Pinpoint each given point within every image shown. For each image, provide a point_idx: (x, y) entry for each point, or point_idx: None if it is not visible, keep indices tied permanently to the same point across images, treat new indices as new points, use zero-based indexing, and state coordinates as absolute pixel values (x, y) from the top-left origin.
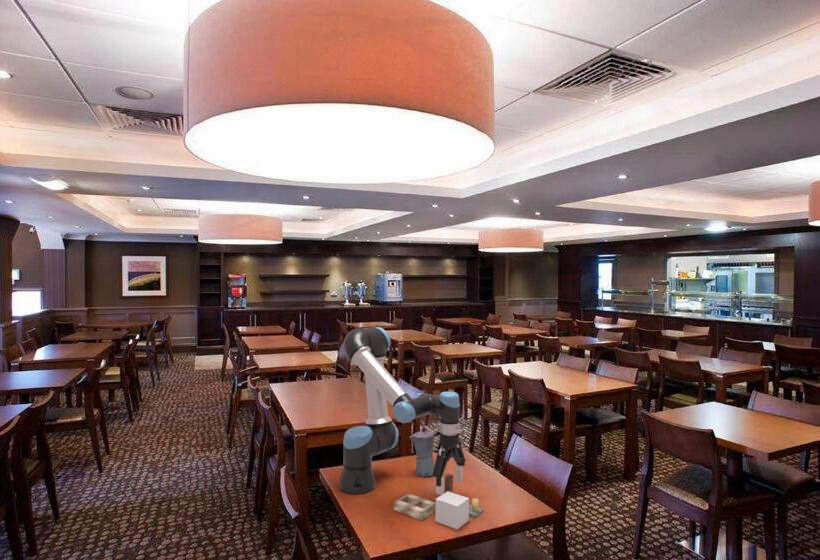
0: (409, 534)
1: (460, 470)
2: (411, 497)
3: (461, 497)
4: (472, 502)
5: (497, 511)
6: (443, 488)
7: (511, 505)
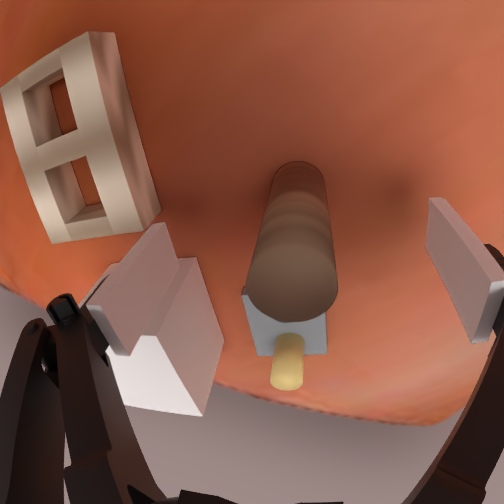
0: (19, 253)
1: (459, 310)
2: (72, 89)
3: (176, 398)
4: (272, 369)
5: (363, 369)
6: (164, 292)
7: (432, 372)
